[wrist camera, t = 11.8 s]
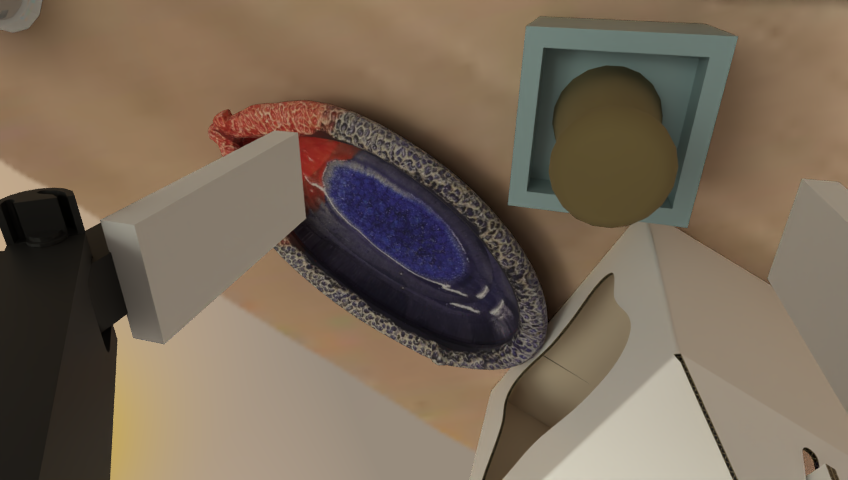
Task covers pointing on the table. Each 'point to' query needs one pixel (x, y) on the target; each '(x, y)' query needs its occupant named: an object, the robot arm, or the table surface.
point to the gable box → (665, 379)
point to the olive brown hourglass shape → (611, 148)
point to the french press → (18, 14)
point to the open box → (635, 49)
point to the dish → (400, 238)
